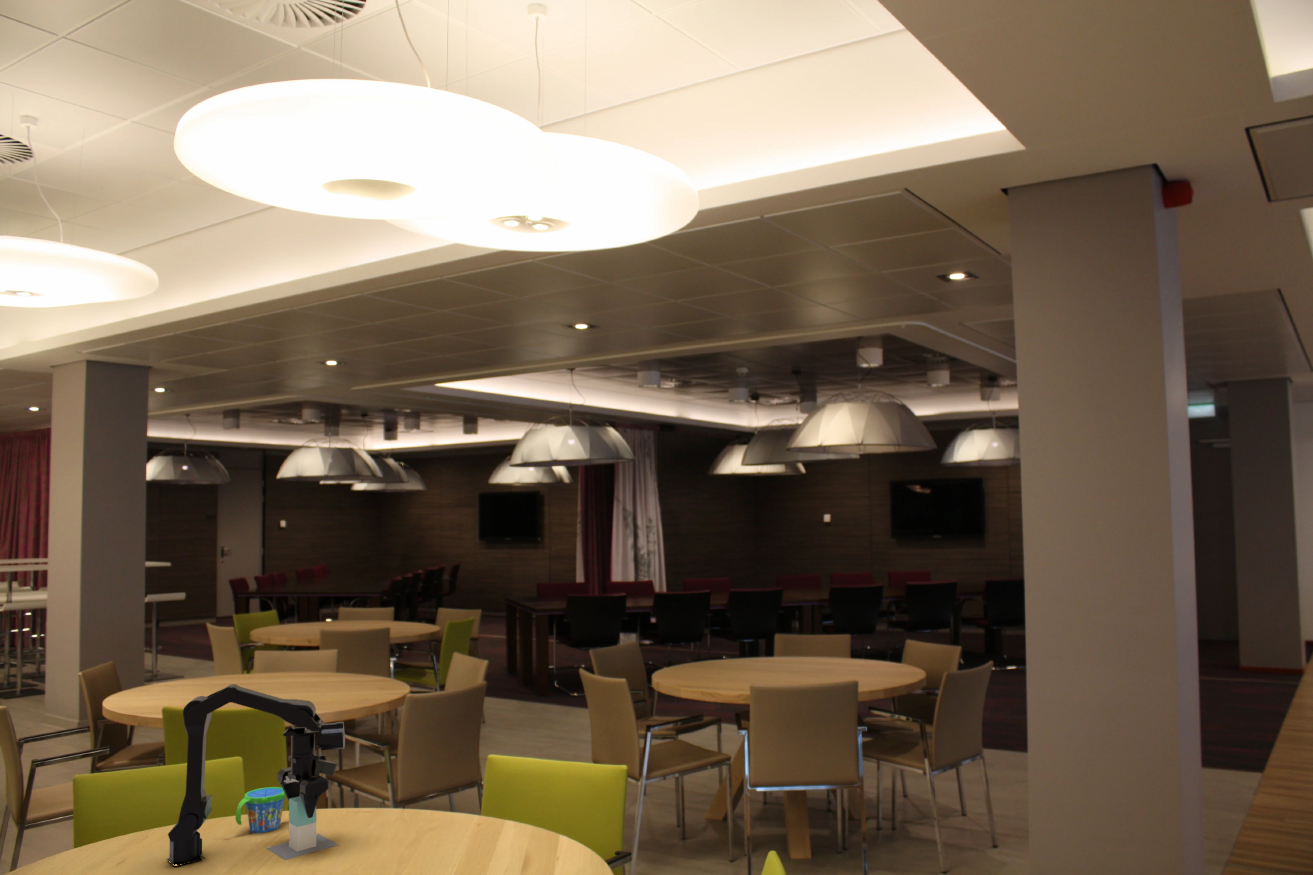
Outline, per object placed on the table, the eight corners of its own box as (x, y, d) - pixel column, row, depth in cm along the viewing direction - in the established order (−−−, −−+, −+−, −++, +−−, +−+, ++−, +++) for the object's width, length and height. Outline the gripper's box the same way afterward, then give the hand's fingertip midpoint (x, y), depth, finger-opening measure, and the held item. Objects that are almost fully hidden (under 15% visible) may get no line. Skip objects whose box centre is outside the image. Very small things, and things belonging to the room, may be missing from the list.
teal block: (297, 826, 238) (297, 802, 239) (289, 822, 242) (289, 798, 242) (316, 822, 242) (316, 798, 242) (308, 817, 245) (308, 794, 246)
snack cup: (285, 818, 266) (285, 781, 266) (301, 827, 258) (301, 789, 259) (228, 832, 255) (228, 794, 255) (242, 842, 247) (243, 802, 248)
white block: (297, 851, 238) (297, 826, 238) (288, 846, 241) (289, 822, 242) (316, 846, 241) (316, 822, 242) (307, 841, 245) (308, 817, 245)
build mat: (284, 862, 232) (284, 859, 232) (265, 850, 241) (265, 847, 241) (339, 847, 242) (339, 844, 242) (318, 836, 250) (318, 833, 250)
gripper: (348, 751, 242) (348, 813, 241) (317, 739, 255) (317, 798, 254) (306, 760, 234) (306, 824, 233) (276, 747, 248) (276, 808, 246)
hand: (302, 813), depth 242 cm, fingers open, 9 cm apart
